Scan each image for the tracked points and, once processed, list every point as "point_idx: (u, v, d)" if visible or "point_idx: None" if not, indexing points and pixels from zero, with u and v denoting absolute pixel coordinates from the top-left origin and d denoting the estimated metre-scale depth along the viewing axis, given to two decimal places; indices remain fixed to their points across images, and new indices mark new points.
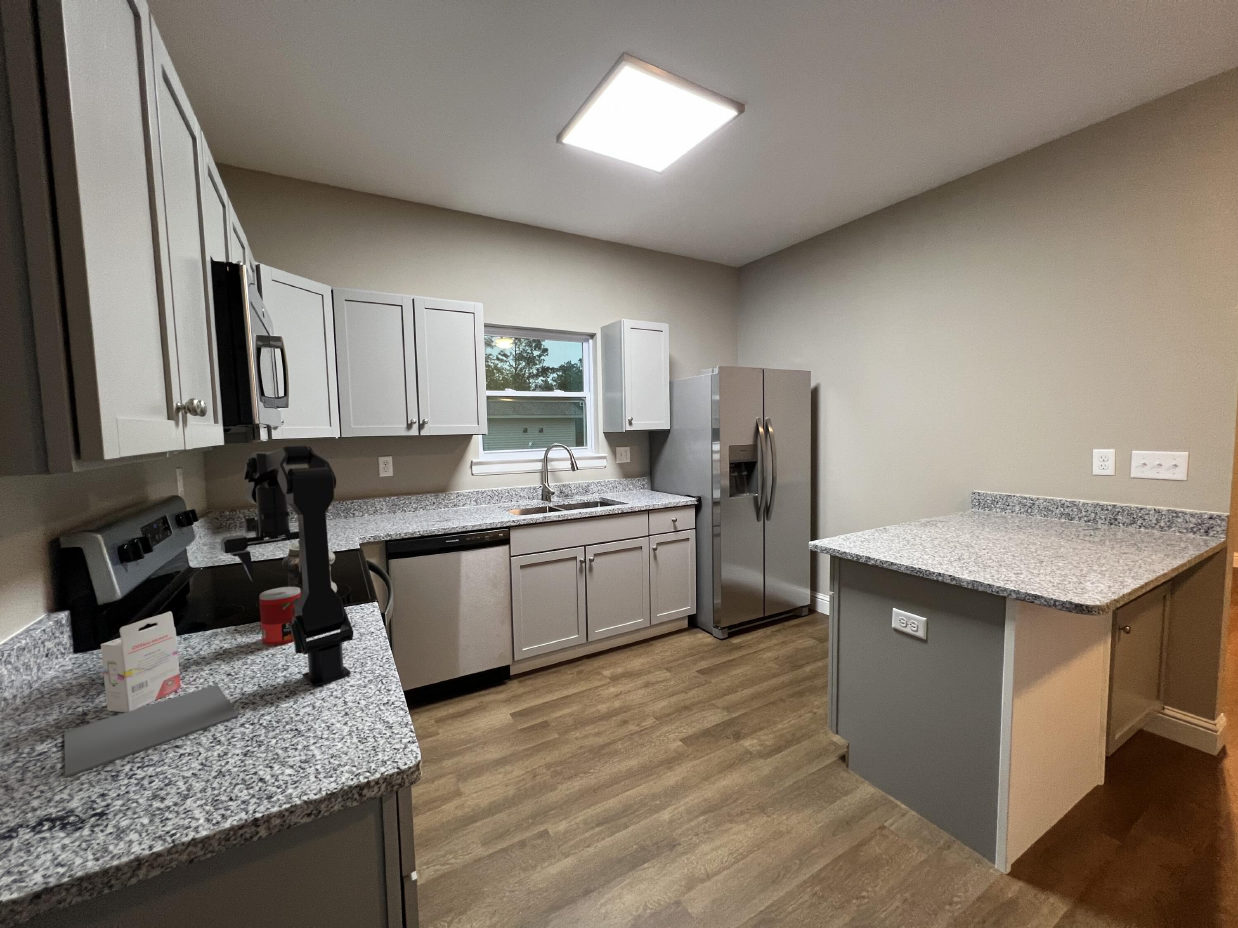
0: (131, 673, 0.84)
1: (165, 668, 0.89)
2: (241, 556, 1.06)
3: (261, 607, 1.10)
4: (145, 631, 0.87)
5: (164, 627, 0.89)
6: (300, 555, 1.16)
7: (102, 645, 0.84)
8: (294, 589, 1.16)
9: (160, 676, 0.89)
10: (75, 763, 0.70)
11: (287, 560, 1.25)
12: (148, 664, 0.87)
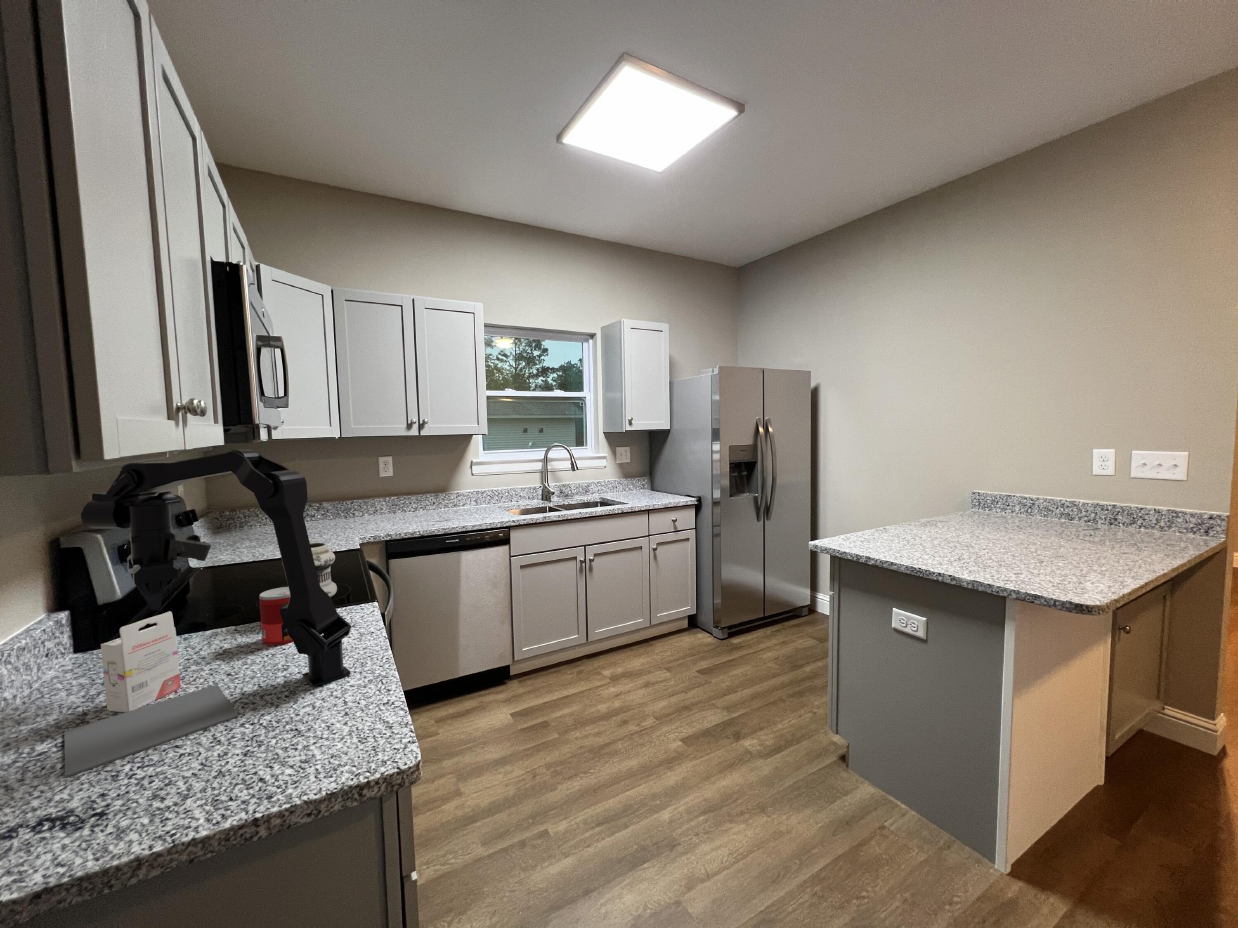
0: (131, 673, 0.84)
1: (165, 668, 0.89)
2: None
3: (261, 607, 1.10)
4: (145, 631, 0.87)
5: (164, 627, 0.89)
6: None
7: (102, 645, 0.84)
8: None
9: (160, 676, 0.89)
10: (75, 763, 0.70)
11: None
12: (148, 664, 0.87)
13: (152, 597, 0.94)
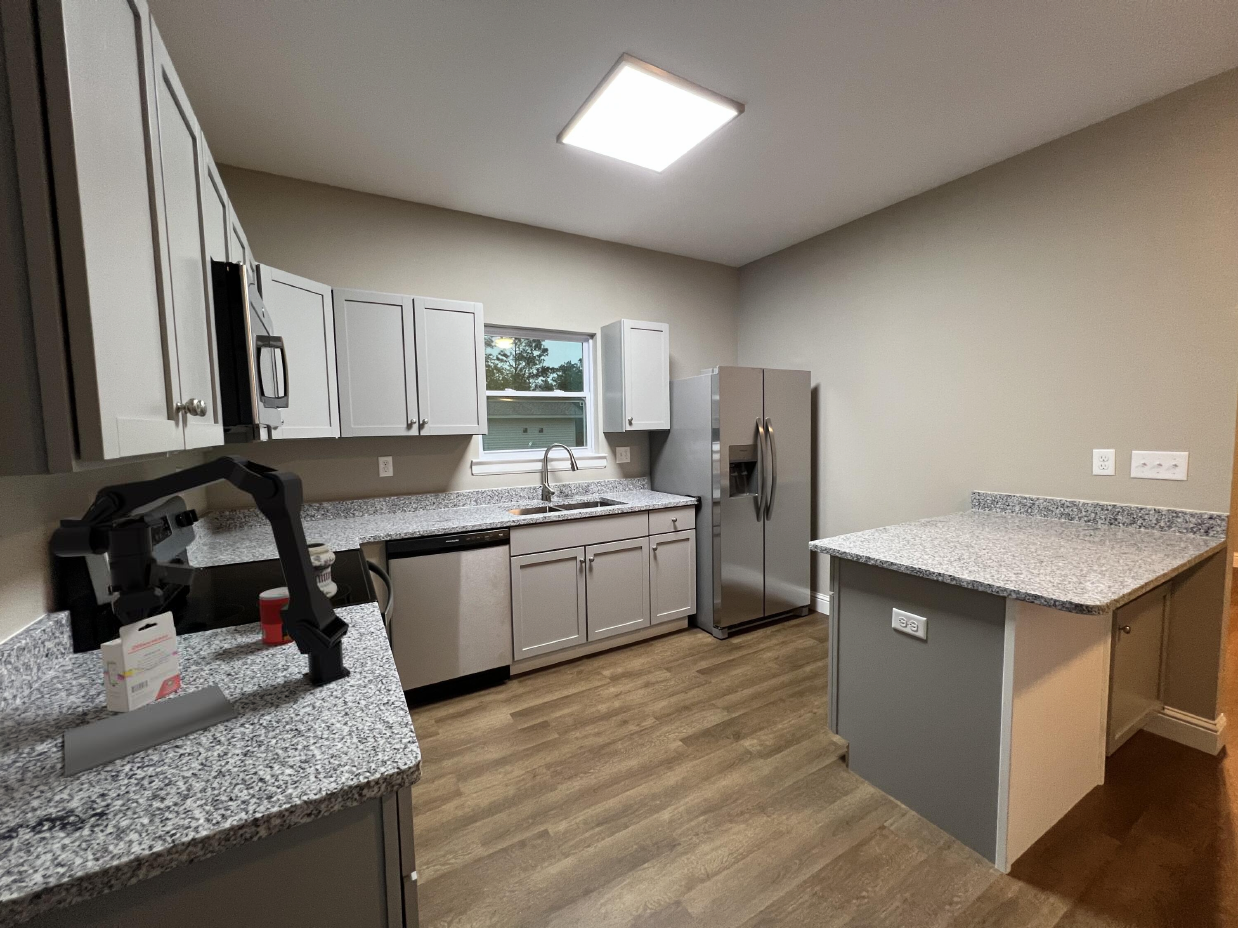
0: (131, 673, 0.84)
1: (164, 668, 0.89)
2: None
3: (261, 607, 1.10)
4: (145, 631, 0.87)
5: (164, 627, 0.89)
6: None
7: (102, 645, 0.84)
8: None
9: (160, 676, 0.89)
10: (75, 763, 0.70)
11: None
12: (147, 664, 0.87)
13: None
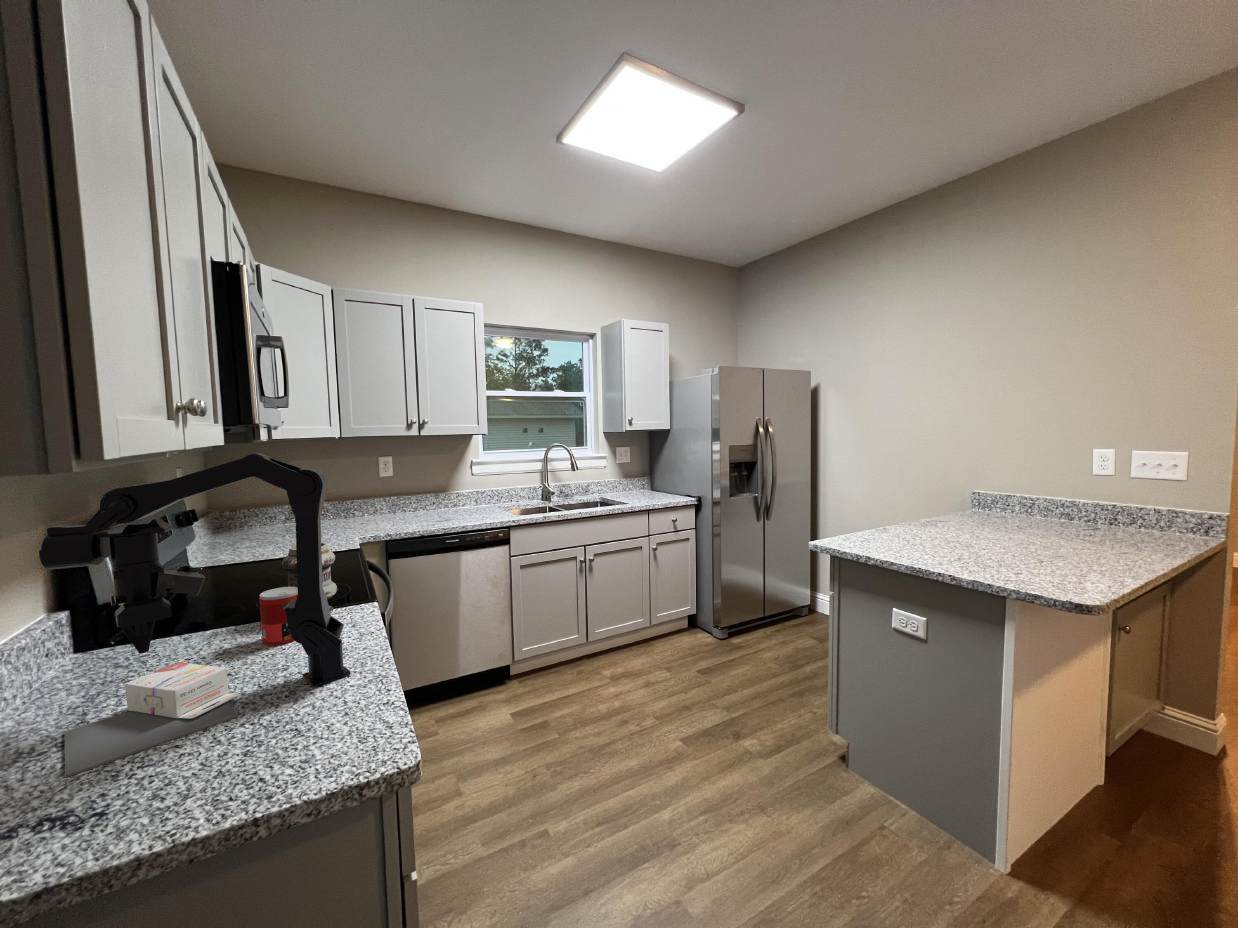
0: None
1: None
2: None
3: (261, 607, 1.10)
4: (205, 707, 0.84)
5: None
6: None
7: (174, 693, 0.81)
8: (294, 589, 1.16)
9: None
10: (75, 763, 0.70)
11: (287, 560, 1.25)
12: None
13: (139, 639, 0.83)
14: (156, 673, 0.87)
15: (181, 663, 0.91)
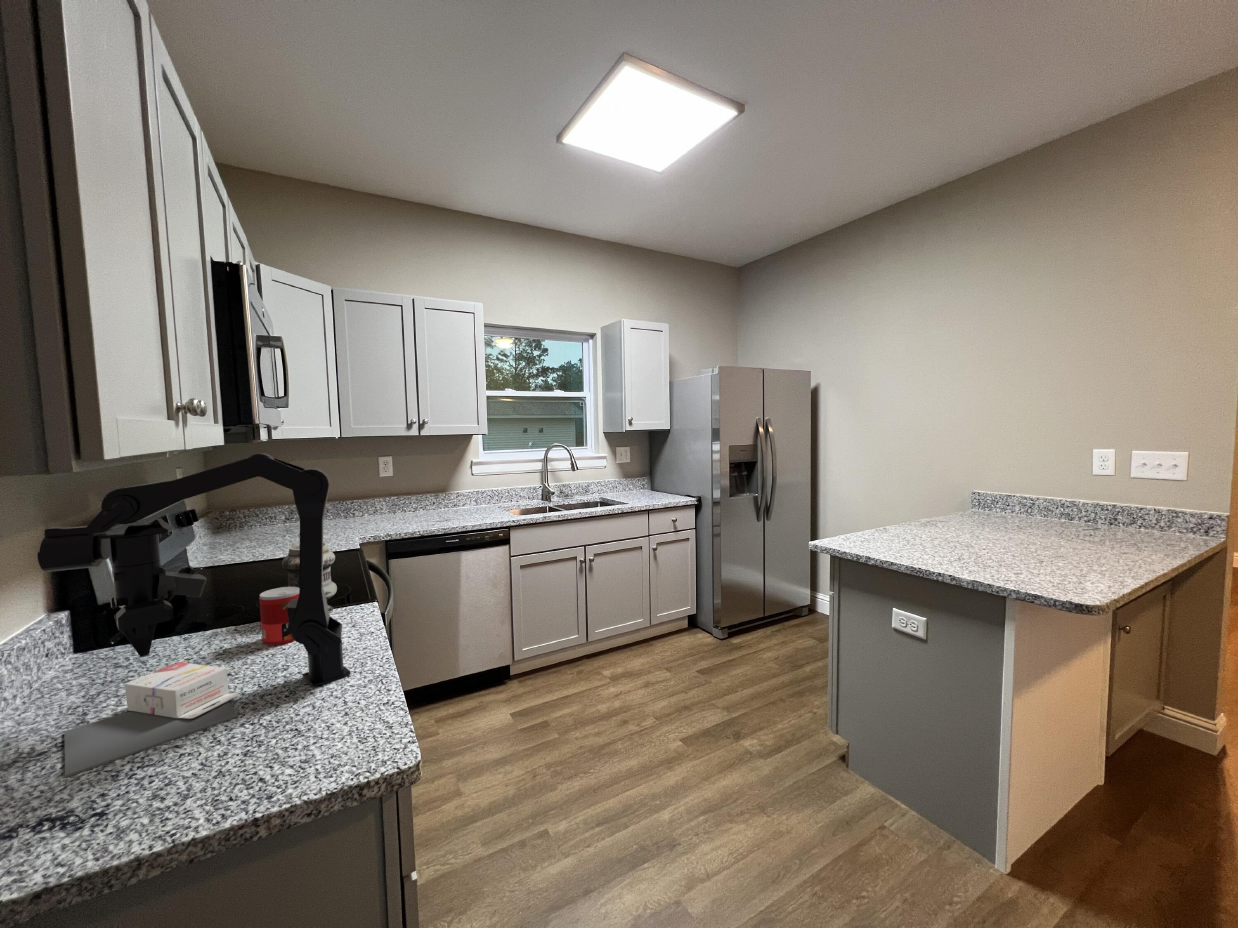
0: None
1: None
2: None
3: (261, 607, 1.10)
4: (205, 707, 0.84)
5: None
6: None
7: (174, 693, 0.81)
8: (294, 589, 1.16)
9: None
10: (75, 763, 0.70)
11: (287, 560, 1.25)
12: None
13: (140, 642, 0.82)
14: (156, 673, 0.87)
15: (181, 663, 0.91)
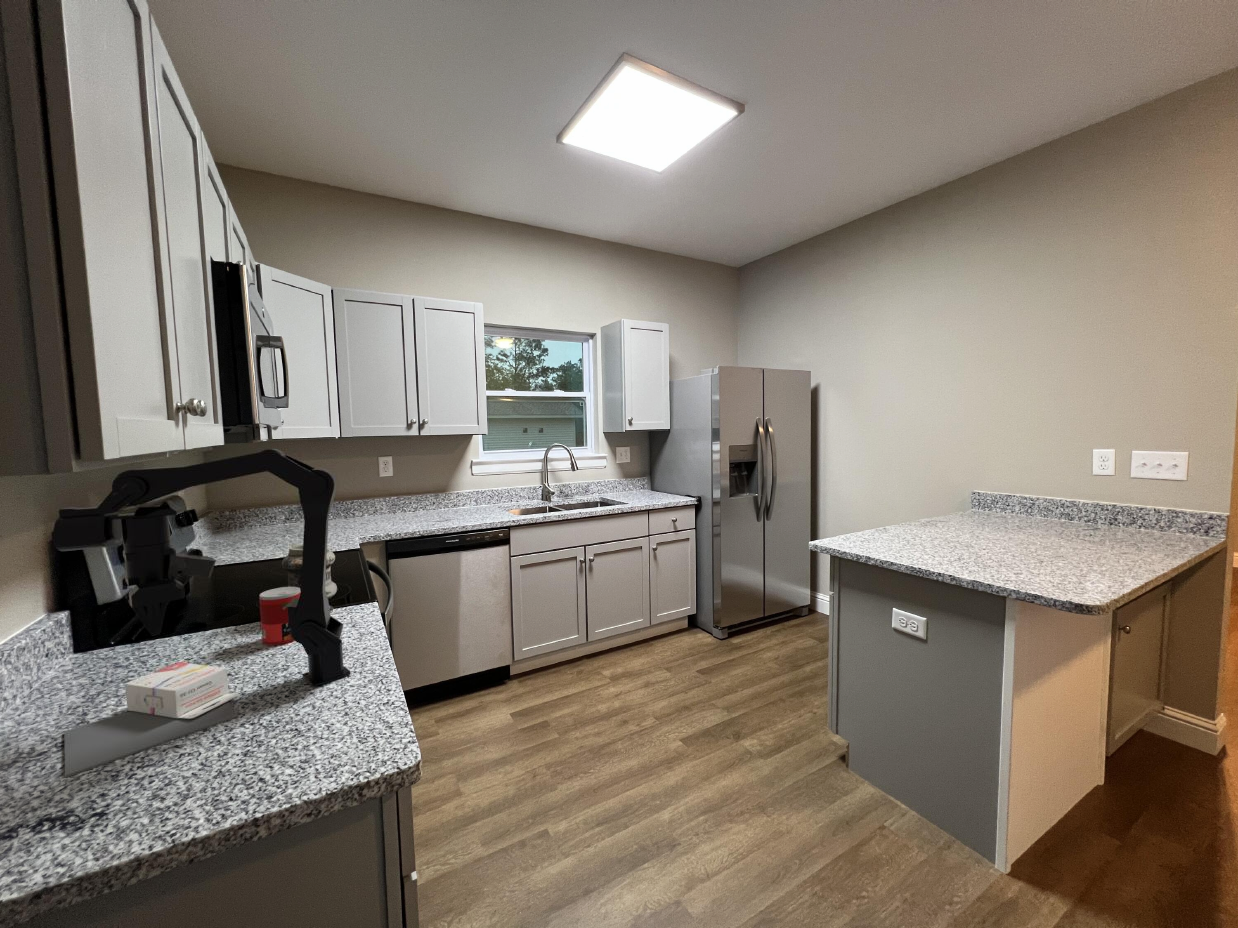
0: None
1: None
2: None
3: (261, 607, 1.10)
4: (205, 707, 0.84)
5: None
6: None
7: (174, 693, 0.81)
8: (294, 589, 1.16)
9: None
10: (75, 763, 0.70)
11: (287, 560, 1.25)
12: None
13: (151, 621, 0.83)
14: (156, 673, 0.87)
15: (181, 663, 0.91)
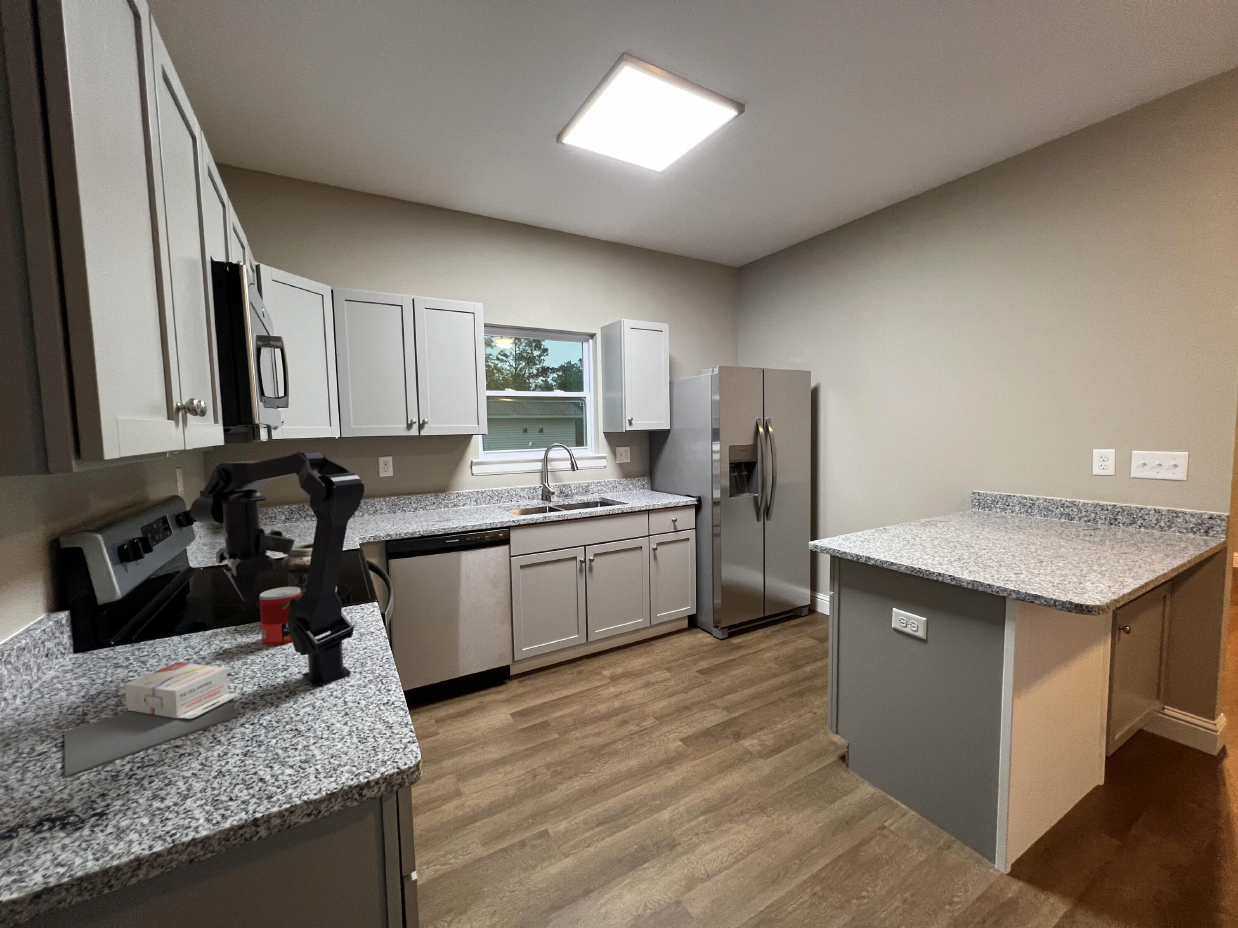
0: None
1: None
2: (225, 571, 1.00)
3: (261, 607, 1.10)
4: (205, 707, 0.84)
5: None
6: None
7: (174, 693, 0.81)
8: (294, 589, 1.16)
9: None
10: (75, 763, 0.70)
11: (287, 560, 1.25)
12: None
13: (244, 589, 0.99)
14: (156, 673, 0.87)
15: (181, 663, 0.91)
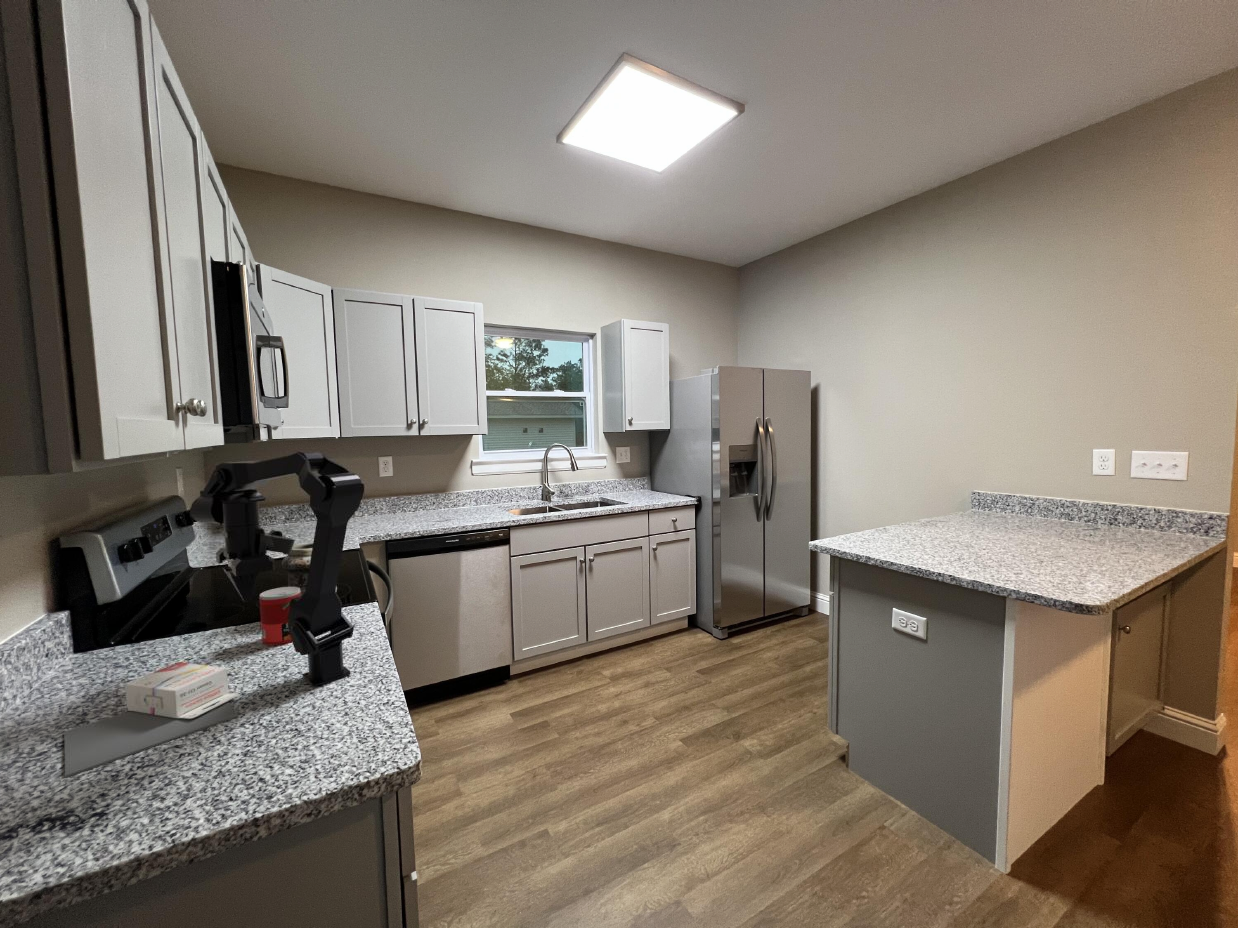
0: None
1: None
2: (225, 571, 1.00)
3: (261, 607, 1.10)
4: (205, 707, 0.84)
5: None
6: None
7: (174, 693, 0.81)
8: (294, 589, 1.16)
9: None
10: (75, 763, 0.70)
11: (287, 560, 1.25)
12: None
13: (244, 589, 0.99)
14: (156, 673, 0.87)
15: (181, 663, 0.91)
